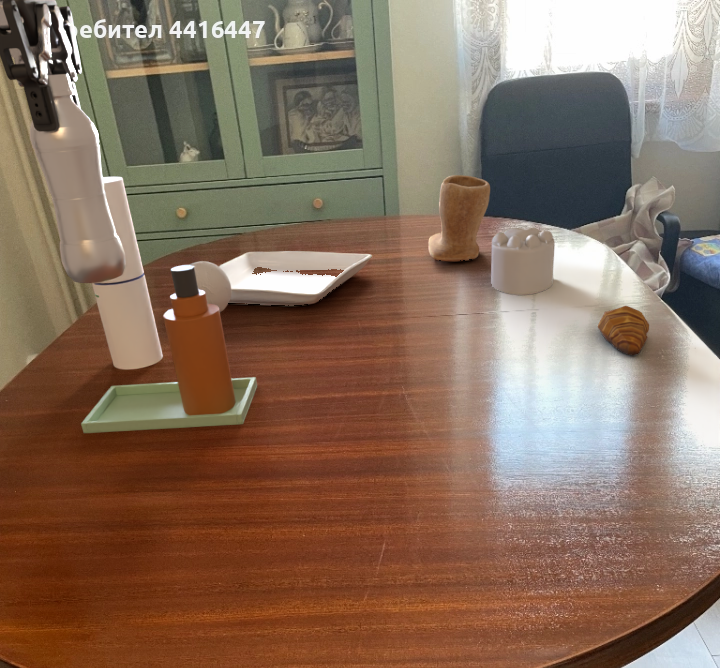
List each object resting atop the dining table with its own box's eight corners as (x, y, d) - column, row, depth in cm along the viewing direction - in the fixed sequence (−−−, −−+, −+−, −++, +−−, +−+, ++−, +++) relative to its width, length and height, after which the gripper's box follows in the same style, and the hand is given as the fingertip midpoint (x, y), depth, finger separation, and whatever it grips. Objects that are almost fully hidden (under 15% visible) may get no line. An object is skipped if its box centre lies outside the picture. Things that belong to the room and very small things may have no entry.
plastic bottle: (83, 274, 84) (31, 76, 73) (139, 272, 83) (95, 71, 72) (57, 291, 78) (-3, 79, 68) (117, 288, 77) (65, 74, 67)
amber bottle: (178, 418, 87) (146, 277, 79) (190, 396, 93) (161, 262, 84) (230, 415, 87) (204, 273, 78) (239, 393, 93) (216, 258, 84)
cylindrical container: (138, 374, 102) (92, 186, 90) (103, 368, 106) (53, 186, 93) (173, 357, 108) (134, 176, 95) (138, 351, 111) (96, 176, 98)
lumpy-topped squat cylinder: (549, 272, 131) (552, 222, 126) (555, 293, 120) (558, 239, 115) (490, 274, 132) (491, 225, 128) (491, 295, 121) (492, 242, 117)
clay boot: (490, 264, 138) (492, 180, 131) (428, 267, 140) (426, 184, 132) (486, 245, 151) (487, 168, 144) (428, 248, 153) (426, 172, 145)
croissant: (587, 325, 105) (590, 291, 103) (636, 323, 105) (640, 289, 102) (605, 360, 94) (608, 323, 91) (659, 358, 93) (665, 320, 91)
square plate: (320, 315, 119) (318, 291, 117) (179, 309, 129) (174, 287, 127) (374, 270, 141) (373, 250, 139) (250, 268, 150) (247, 249, 148)
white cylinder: (236, 357, 106) (217, 252, 98) (251, 372, 100) (233, 262, 92) (188, 368, 103) (165, 261, 96) (200, 384, 98) (178, 272, 90)
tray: (84, 436, 86) (80, 423, 85) (114, 397, 96) (111, 385, 95) (243, 427, 85) (241, 414, 84) (257, 388, 95) (255, 376, 94)
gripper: (3, -69, 70) (53, 123, 79) (-79, -94, 58) (-10, 138, 67) (79, -76, 70) (120, 118, 78) (12, -103, 58) (69, 132, 66)
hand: (60, 126), depth 72 cm, fingers closed on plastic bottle, 5 cm apart
